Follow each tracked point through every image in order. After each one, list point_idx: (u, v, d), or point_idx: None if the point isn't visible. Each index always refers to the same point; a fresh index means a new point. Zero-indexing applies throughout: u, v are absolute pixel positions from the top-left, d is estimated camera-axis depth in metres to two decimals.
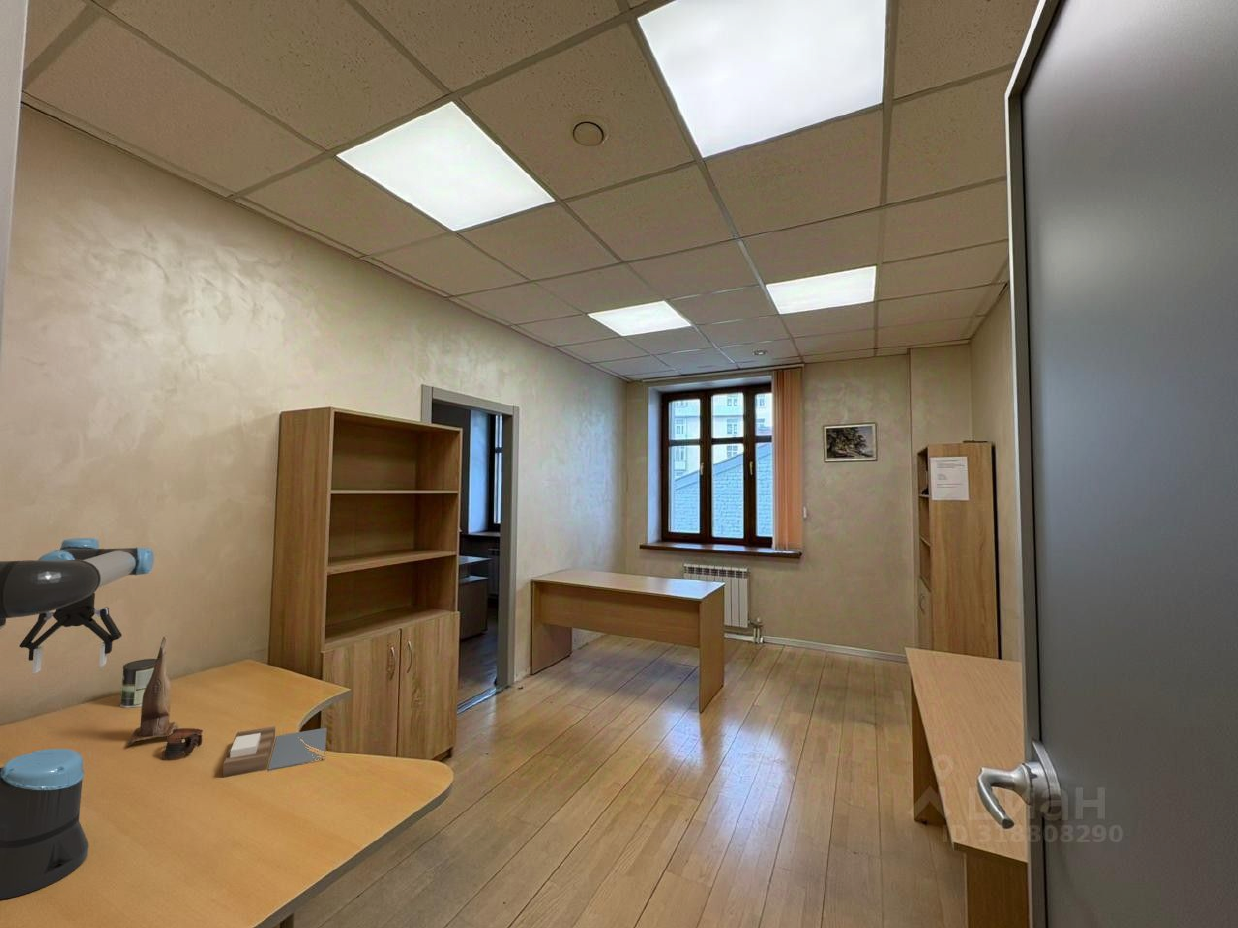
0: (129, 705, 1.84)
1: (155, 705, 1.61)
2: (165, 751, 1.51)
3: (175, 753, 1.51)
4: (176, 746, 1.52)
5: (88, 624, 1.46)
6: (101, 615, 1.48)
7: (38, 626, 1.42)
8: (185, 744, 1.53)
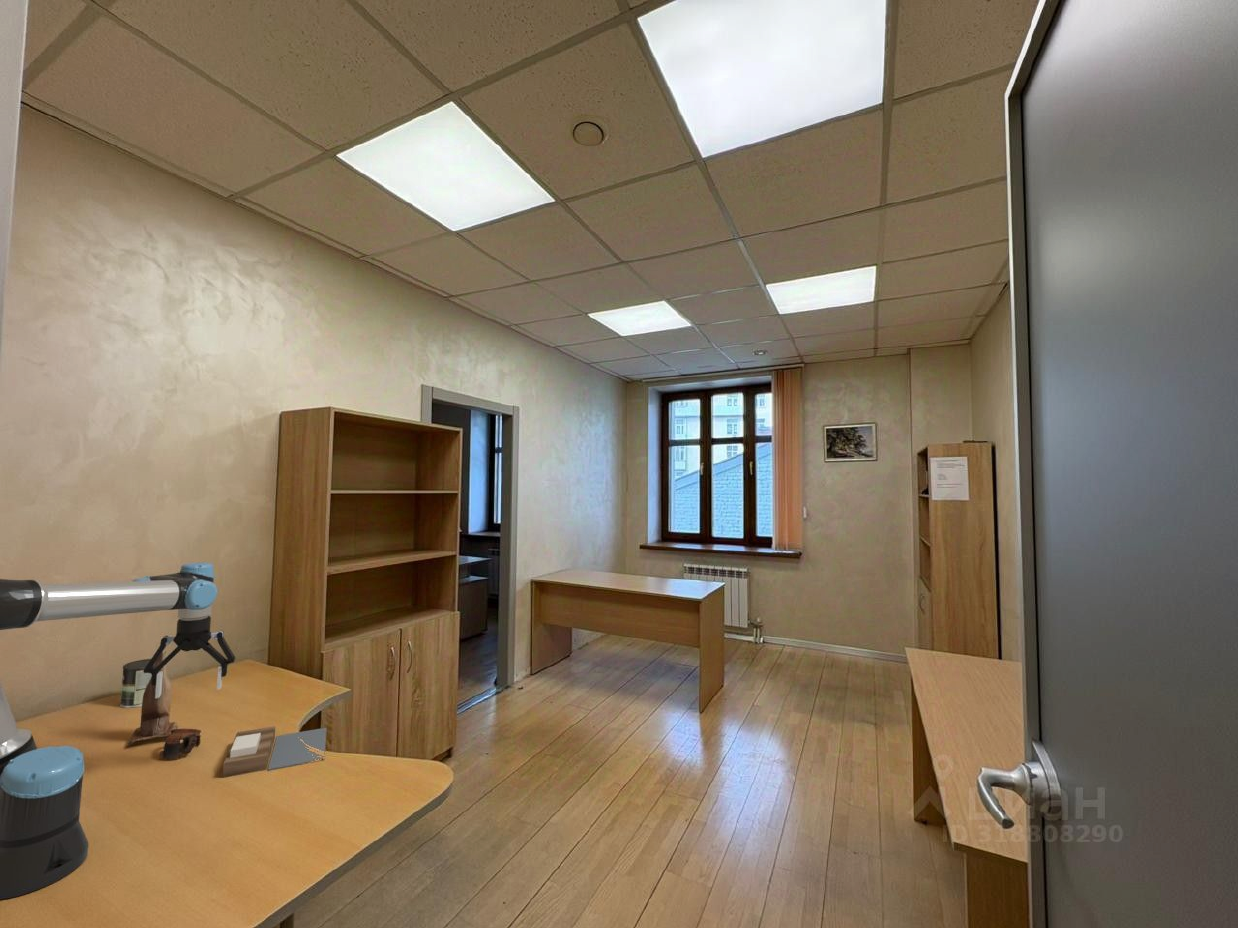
0: (129, 705, 1.84)
1: (155, 705, 1.61)
2: (163, 752, 1.51)
3: (173, 753, 1.51)
4: (174, 747, 1.51)
5: (207, 648, 1.48)
6: (218, 639, 1.50)
7: (160, 651, 1.43)
8: (183, 744, 1.53)
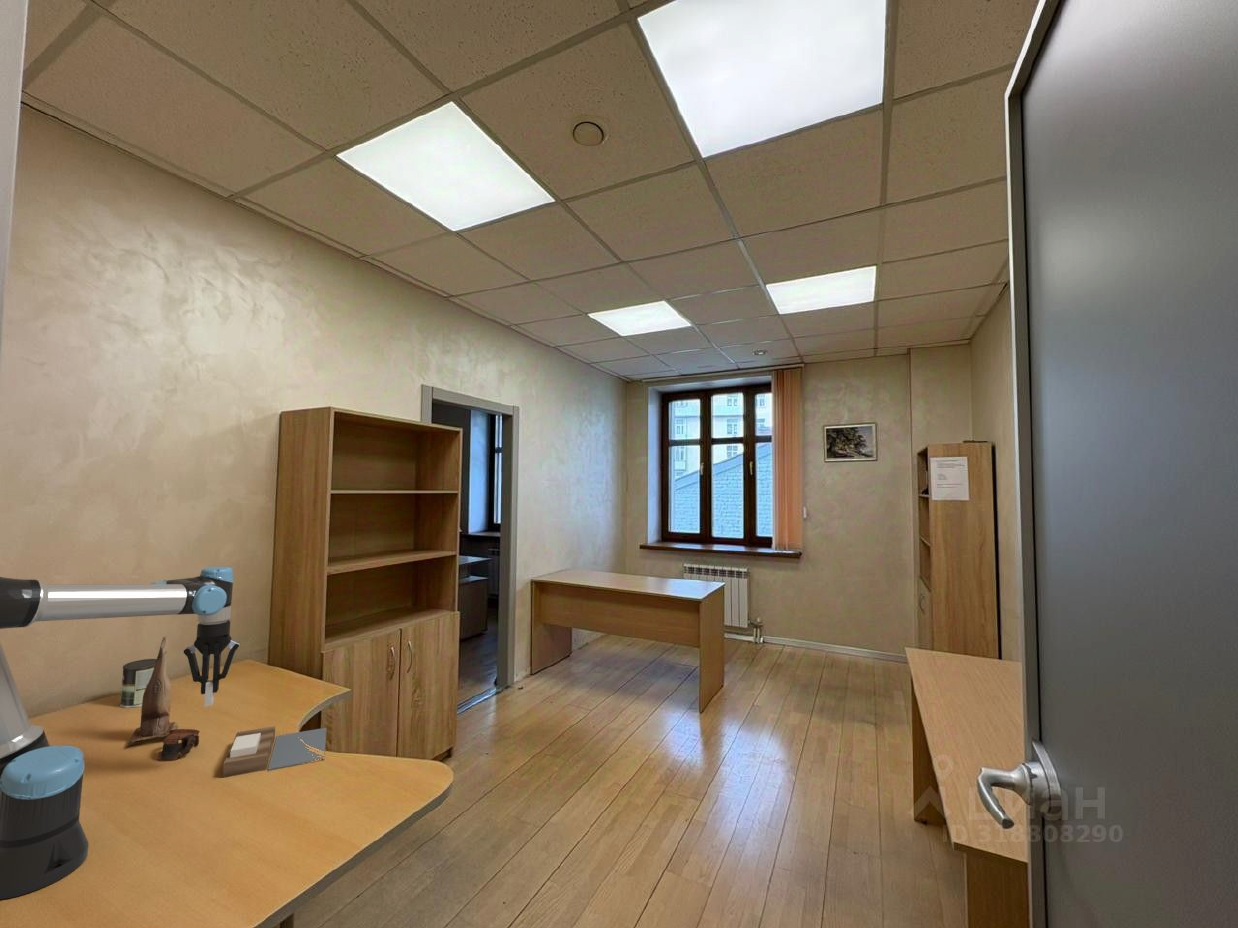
0: (129, 705, 1.84)
1: (155, 705, 1.61)
2: (162, 752, 1.51)
3: (171, 753, 1.51)
4: (173, 747, 1.51)
5: (217, 656, 1.47)
6: (231, 649, 1.49)
7: (192, 660, 1.45)
8: (182, 745, 1.52)
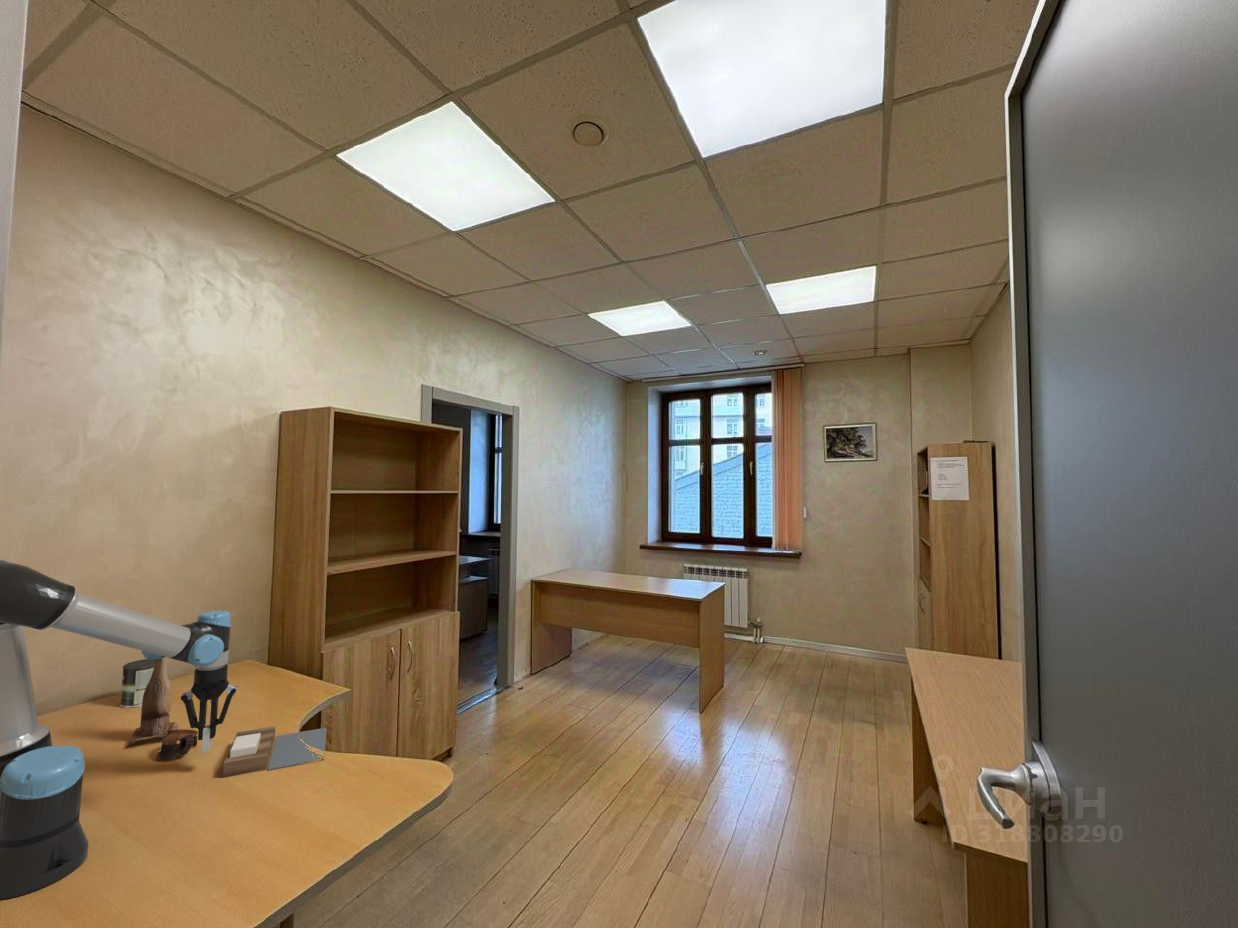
0: (129, 705, 1.84)
1: (155, 705, 1.61)
2: (160, 752, 1.50)
3: (170, 754, 1.50)
4: (171, 747, 1.51)
5: (214, 702, 1.46)
6: (229, 694, 1.48)
7: (190, 706, 1.44)
8: (180, 745, 1.52)
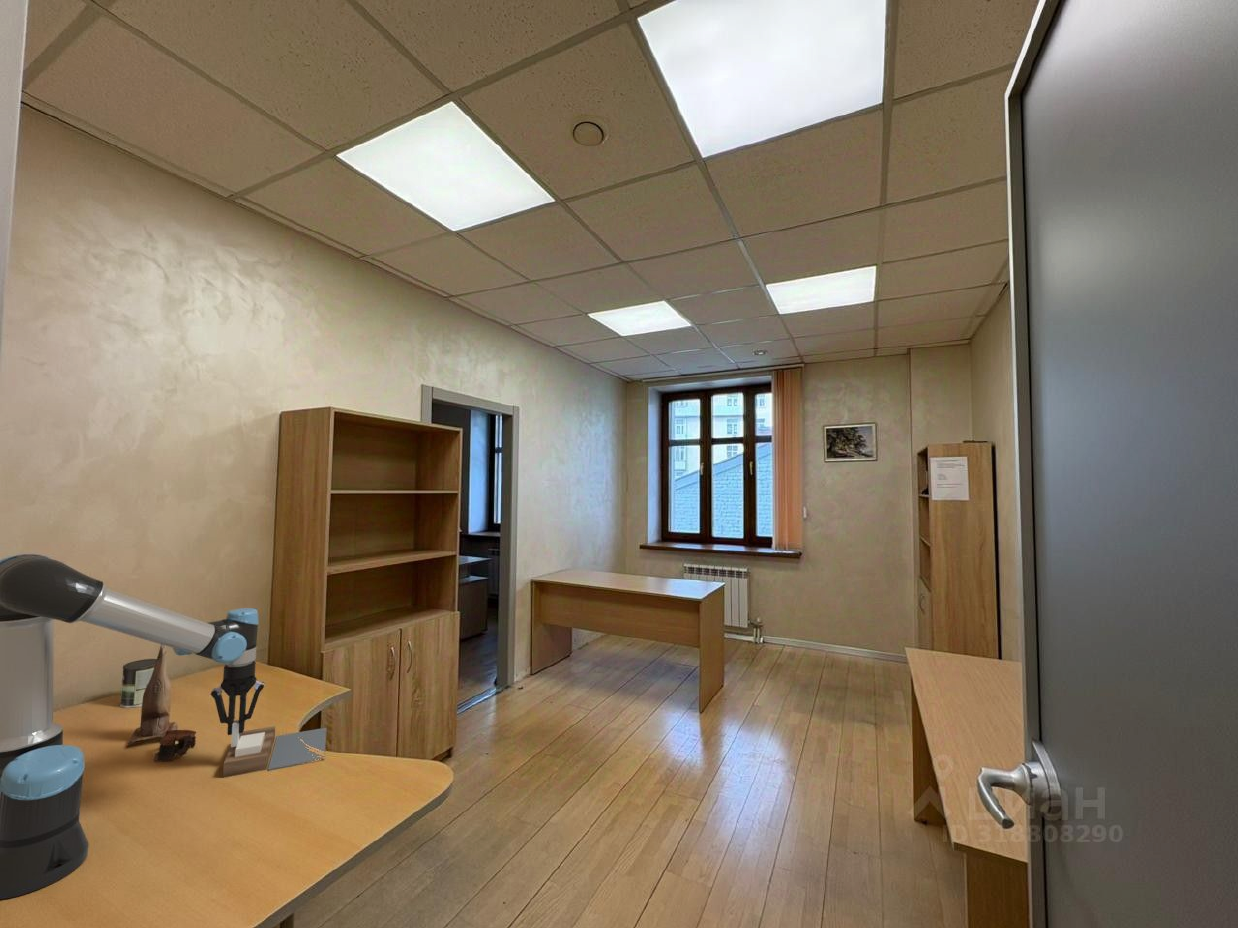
0: (129, 705, 1.84)
1: (155, 705, 1.61)
2: (158, 753, 1.50)
3: (168, 754, 1.50)
4: (169, 748, 1.51)
5: (243, 697, 1.50)
6: (257, 690, 1.52)
7: (219, 702, 1.47)
8: (178, 746, 1.52)
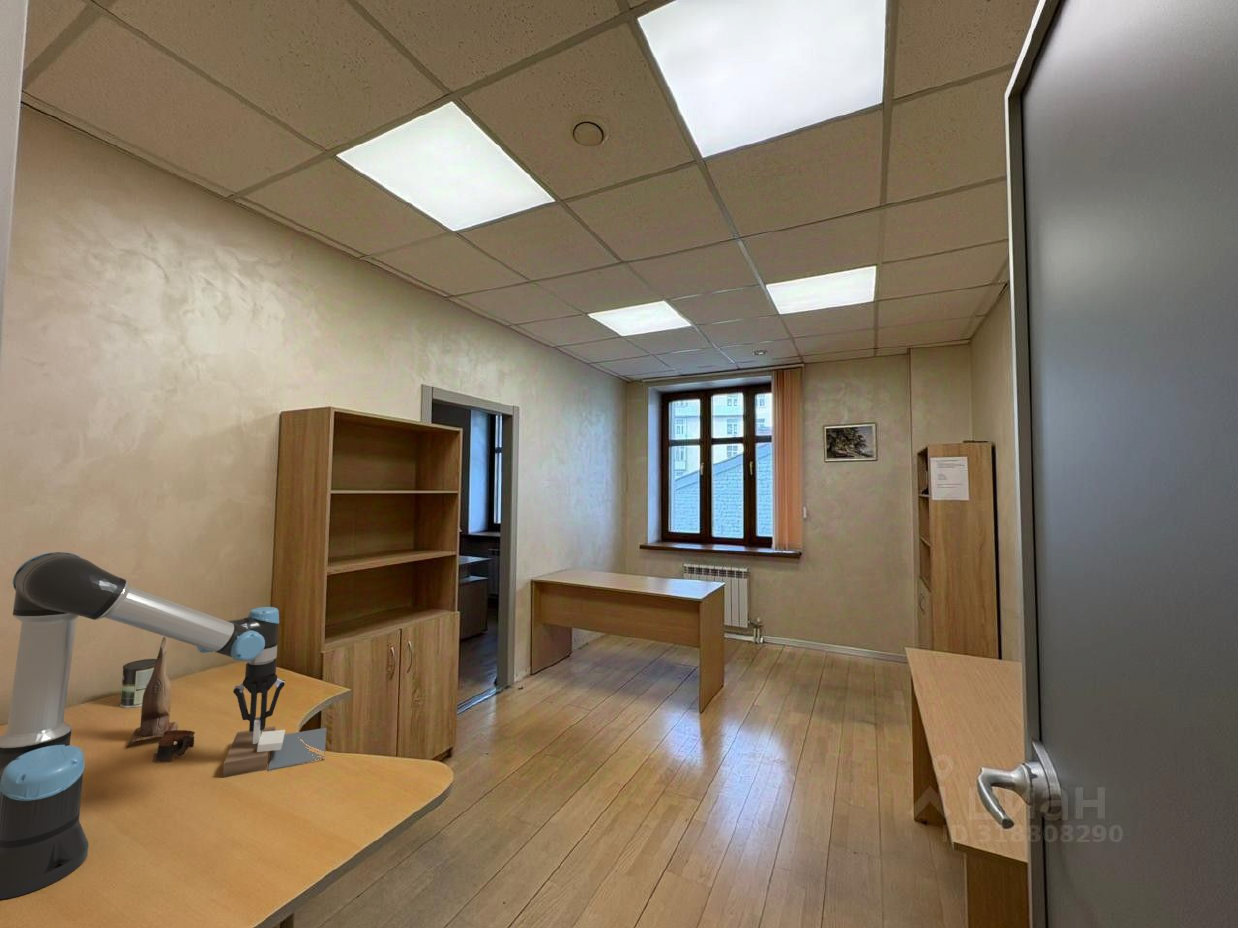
0: (129, 705, 1.84)
1: (155, 705, 1.61)
2: (157, 753, 1.50)
3: (166, 755, 1.50)
4: (168, 748, 1.50)
5: (264, 695, 1.52)
6: (278, 688, 1.54)
7: (241, 699, 1.50)
8: (177, 746, 1.52)
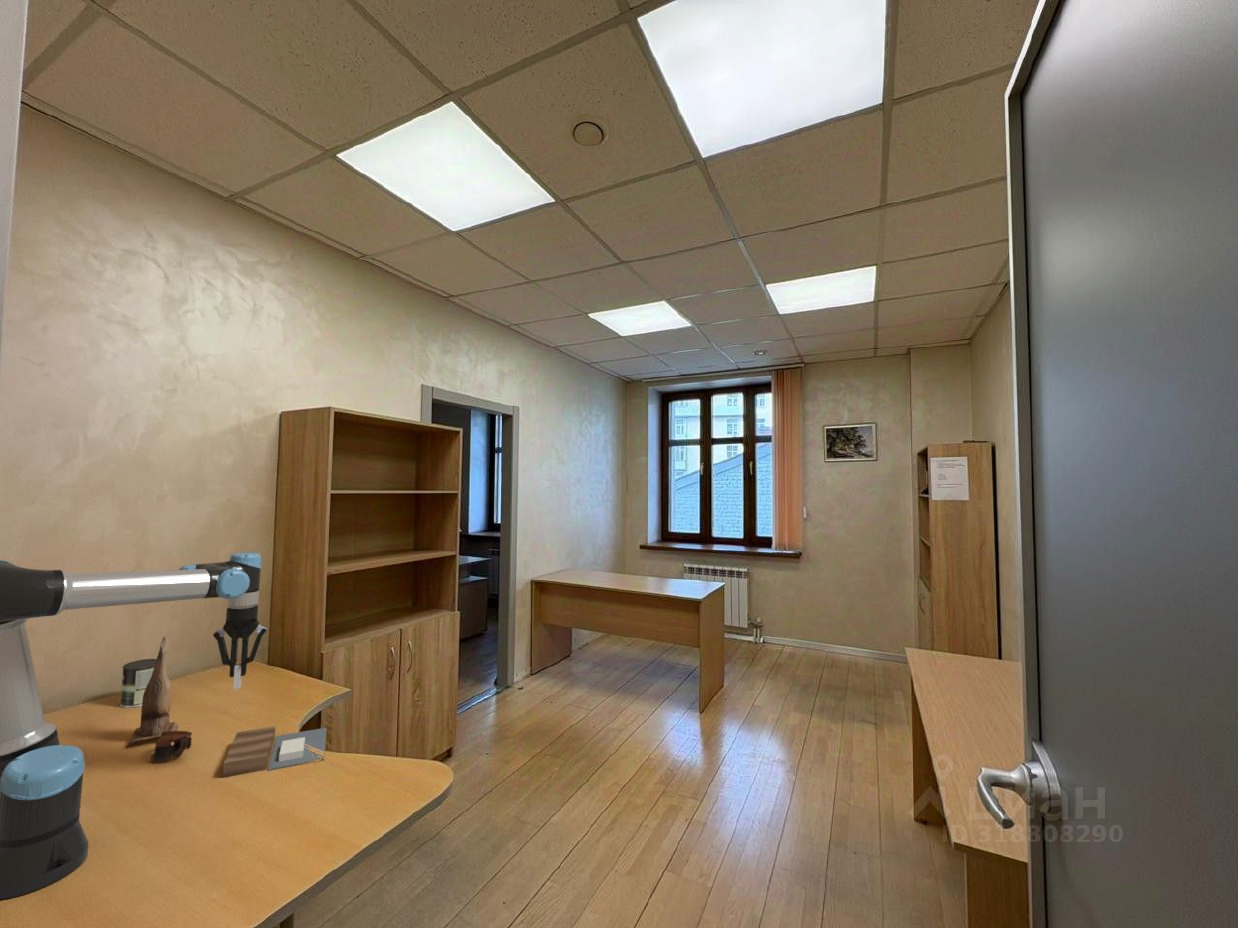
0: (129, 705, 1.84)
1: (155, 705, 1.61)
2: (154, 754, 1.49)
3: (164, 756, 1.49)
4: (165, 749, 1.50)
5: (245, 640, 1.50)
6: (259, 633, 1.52)
7: (222, 643, 1.48)
8: (174, 747, 1.51)
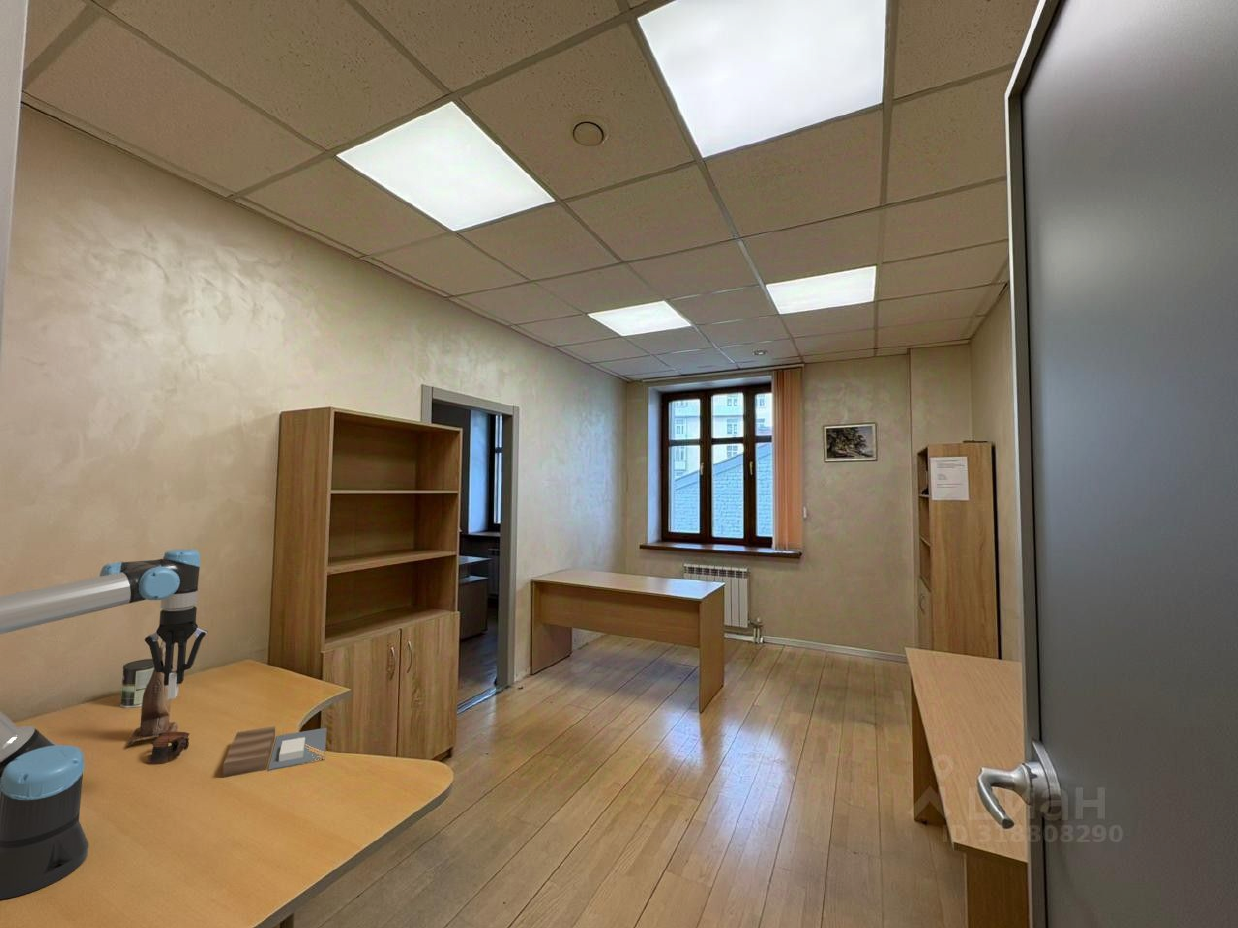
0: (129, 705, 1.84)
1: (155, 705, 1.61)
2: (151, 755, 1.49)
3: (161, 756, 1.49)
4: (162, 750, 1.50)
5: (181, 645, 1.37)
6: (197, 638, 1.39)
7: (155, 649, 1.35)
8: (172, 748, 1.51)
